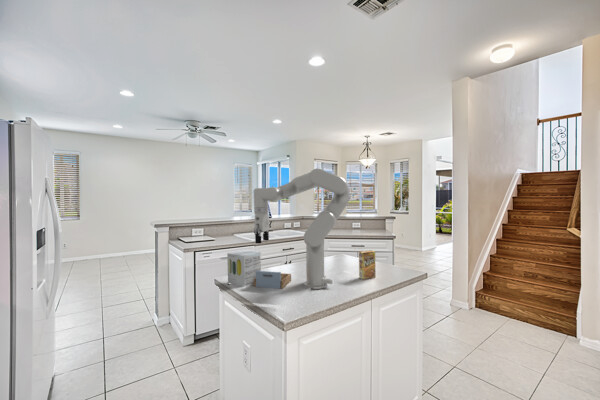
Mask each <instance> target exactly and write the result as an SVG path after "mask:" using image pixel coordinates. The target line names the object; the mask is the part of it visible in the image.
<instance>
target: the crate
mask: <svg viewBox="0 0 600 400" xmlns="http://www.w3.org/2000/svg"><path fill="white" fill-rule="evenodd" d="M291 281H292V273H286V272H285V273H283V272H281V290H283V289H285V287H286V286H287V285H288V284H289V283H291ZM253 287H256V278H255V279H254V283H253ZM256 288H257V287H256Z"/></svg>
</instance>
